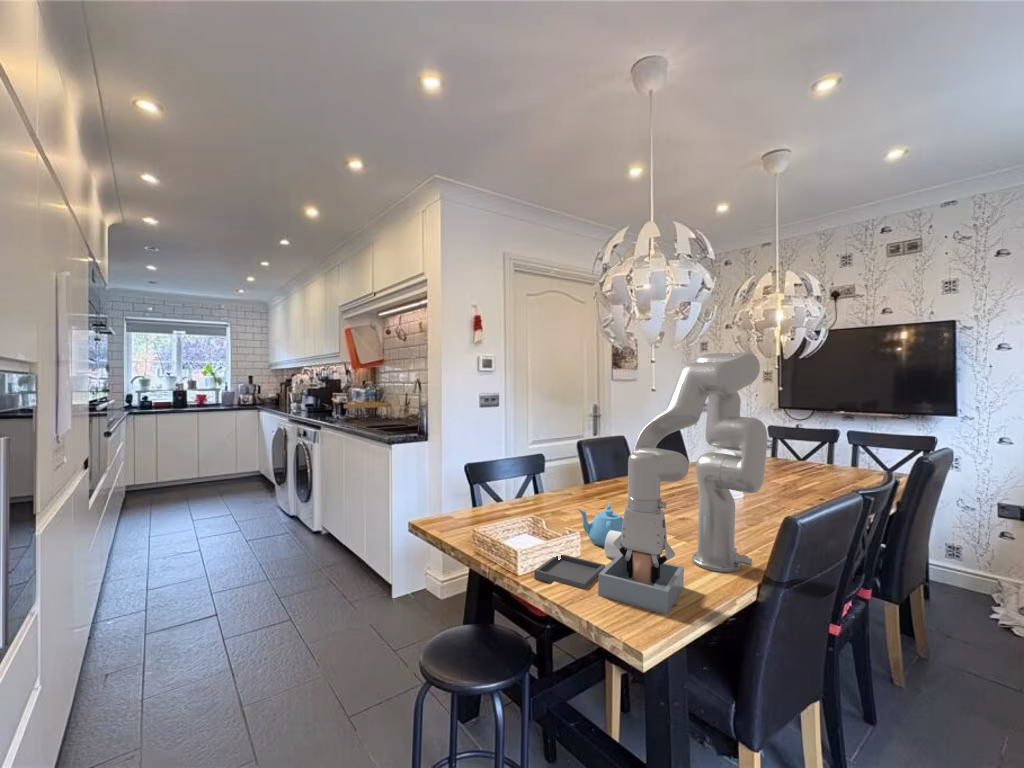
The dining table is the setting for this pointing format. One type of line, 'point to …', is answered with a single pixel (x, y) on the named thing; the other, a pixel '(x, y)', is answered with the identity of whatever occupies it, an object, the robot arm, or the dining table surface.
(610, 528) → the teapot
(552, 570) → the tray
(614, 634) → the dining table surface
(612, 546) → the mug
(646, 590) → the bin
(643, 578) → the cylinder
